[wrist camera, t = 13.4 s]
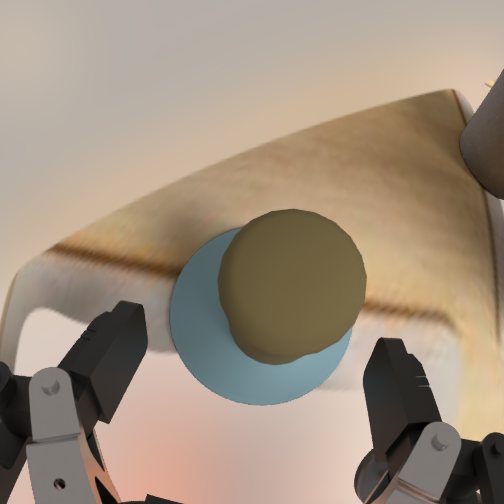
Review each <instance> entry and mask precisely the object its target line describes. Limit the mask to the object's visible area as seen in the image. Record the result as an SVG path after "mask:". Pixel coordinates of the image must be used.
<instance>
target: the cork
mask: <svg viewBox="0 0 504 504" xmlns="http://www.w3.org/2000/svg"><path fill="white" fill-rule="evenodd" d="M366 279H367V276H366V272H365V268H364V263H363V259H362V255H361V254H360V252H359V250H358V249H357V247H356V245H355V244H354V242H353V240H352V239H351V237H350V236H349V235H348V234H347V233H346V232H345V231H344V230H343V229H341V228H340V227H339V226H338V225H337V224H336V223H335V222H333V221H331V220H329V219H327V218H325V217H323V216H321V215H319V214H317V213H315V212H309V211H304V210H298V209H287V210H278V211H271V212H269V213H267V214H264V215H262V216H260V217H258V218H255V219H253V220H251V221H250V222H249V223H248V224H247V225H246V226H244V227H243V228H242V229H241V230H240V231H239V232H238V233H236V234H235V236H234V238H233V239H232V241H231V243H230V244H229V246H228V248H227V249H226V251H225V253H224V254H223V256H222V260H221V264H220V269H219V273H218V278H217V282H218V291H219V300H220V304H221V306H222V309H223V311H224V313H225V315H226V317H227V319H228V321H229V328H230V333H231V335H232V337H233V339H234V341H235V343H236V345H237V346H238V347H239V348H240V349H241V351H242V352H243V353H244V354H245V355H246V356H248V357H250V358H252V359H253V360H255V361H257V362H259V363H263V364H269V365H282V364H288V363H292V362H294V361H295V360H297V359H299V358H301V357H303V356H304V355H310V354H315V353H319V352H320V351H322V350H324V349H326V348H328V347H330V346H331V345H333V344H335V343H337V342H339V340H340V339H341V338H342V337H343V336H344V335H345V334H346V333H347V332H348V331H349V329H350V328H351V327H352V326H353V325H354V323H355V321H356V319H357V317H358V314H359V312H360V310H361V307H362V305H363V303H364V300H365V292H366Z"/></svg>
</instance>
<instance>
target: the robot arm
mask: <svg viewBox="0 0 504 504" xmlns="http://www.w3.org/2000/svg"><path fill="white" fill-rule="evenodd" d="M147 345H148V336H147V329H146V322H145V314H144V308H143V305H142V304H138V303H133V302H128V301H123V300H121V301H120V302H119V303H118V304H117V305H116V306H115V308H114V309H113V310H112V312H107V311H106V312H104V313H103V314H101V315H99V316H98V317H96V318H95V319H94V320H93V321H92V322H91V323H90V325H89V326H88V327H87V330H85V331H84V332H83V334H82V335H81V337H80V338H79V339H78V340H77V341H76V343H75V344H74V345H73V346H72V348H71V349H70V350H69V352H68V353H67V354H66V356H65V357H64V358H63V360H62V361H61V362H60V364H59V365H58V366H57V367H49V368H45V369H42V370H40V371H38V372H37V373H36V374H35V375H34V376H33V377H26V376H18V375H12V373H11V371H10V369H9V367H8V366H7V365H6V364H5V363H3V362H1V361H0V420H1V423H0V504H7V501H8V499H9V497H10V494H11V492H12V490H13V487H14V485H15V483H16V481H17V479H18V476H19V474H20V472H21V470H22V468H23V466H24V464H25V462H26V460H27V461H28V468H29V474H30V479H31V485H32V490H33V494H34V499H35V504H182V503H178V502H174V501H170V500H166V499H163V498H159V497H155V496H152V495H149V494H147V496H146V500H145V501H129V502H121V500H120V497H119V495H118V493H117V491H116V489H115V487H114V485H113V483H112V481H111V479H110V476H109V474H108V471H107V468H106V465H105V462H104V459H103V456H102V453H101V449H100V447H99V443H98V440H97V436H96V432H95V429H94V426H95V425H96V423H97V421H98V420H99V421H102V422H105V423H107V424H109V423H110V421H111V419H112V417H113V415H114V413H115V411H116V409H117V407H118V405H119V403H120V401H121V399H122V397H123V395H124V393H125V392H126V390H127V387H128V386H129V384H130V382H131V380H132V378H133V376H134V374H135V372H136V370H137V369H138V367H139V364H140V363H141V361H142V359H143V357H144V355H145V353H146V350H147ZM363 388H364V393H365V398H366V404H367V410H368V416H369V422H370V428H371V435H372V441H373V448H374V456H375V463H387V464H388V470H387V471H386V472H385V473H384V475H383V476H382V478H381V479H380V481H379V482H378V484H377V485H376V487H375V488H374V489H373V491H372V492H371V494H370V495H369V496H368V498H367V499H366V500H365V502H364V503H363V504H478V499H477V493H476V491H477V490H479V489H480V495H481V500H482V504H504V435H503V434H501V433H497V432H493V433H490V434H488V435H487V436H486V437H485V438H484V439H483V440H482V441H481V442H478V441H472V440H466V439H461V438H460V435H459V433H458V432H457V431H456V429H455V428H453V427H452V426H451V425H449V424H447V423H444V422H442V419H441V416H440V413H439V410H438V407H437V404H436V402H435V399H434V396H433V393H432V390H431V388H429V382H428V380H427V378H426V374H425V372H424V369H423V367H422V364H421V363H420V362H419V361H418V360H417V358H416V357H415V356H414V355H413V354H408V353H407V351H406V348H405V346H404V343H403V341H402V339H398V338H383V337H381V338H379V339H378V341H377V343H376V345H375V348H374V350H373V352H372V355H371V357H370V359H369V361H368V364H367V366H366V368H365V371H364V376H363Z"/></svg>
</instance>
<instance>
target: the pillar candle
mask: <svg viewBox="0 0 504 504" xmlns="http://www.w3.org/2000/svg"><path fill="white" fill-rule="evenodd" d="M460 149H461V152H462V155H463V158H464V160H465V162H466V164H467V166H468V167H469V169H470V171H471V172H472V173H473V174H474V176H475V177H476V178H477V179H478V181H479V182H480V183H481V184H482V185H483V186H484V187H485V188H487V189H488V190H489V191H490V192H491V193H493V194H494V195H495V196H497V197H498V198H500V199H502V200H504V69H503V71H502V72H501V74H500V76H499V77H498V79H497V81H496V82H495V84H494V85H493V87H492V88H491V90H490V92H489V93H488V95H487V96H486V98H485V99H484V101H483V102H482V104H481V105H480V107H479V108H478V109H477V111H476V113H475V114H474V116H473V117H472V119H471V120H470V121H469V123H468V124H467V126H466V127H465V129H464V130H463V132H462V134H461V137H460Z"/></svg>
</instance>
